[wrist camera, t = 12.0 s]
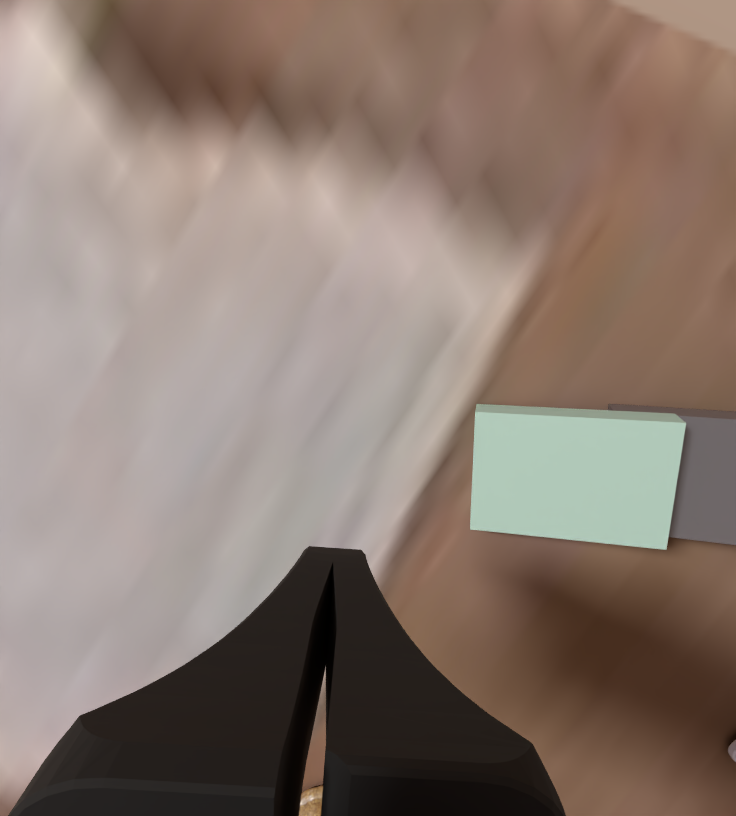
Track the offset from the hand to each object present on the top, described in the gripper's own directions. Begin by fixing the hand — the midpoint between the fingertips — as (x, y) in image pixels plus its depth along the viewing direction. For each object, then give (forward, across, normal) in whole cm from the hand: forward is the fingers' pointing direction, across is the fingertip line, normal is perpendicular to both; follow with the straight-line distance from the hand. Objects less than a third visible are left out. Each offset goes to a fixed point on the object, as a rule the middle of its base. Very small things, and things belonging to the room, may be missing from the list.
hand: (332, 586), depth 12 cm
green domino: (+8, -5, 0) cm, 10 cm away
